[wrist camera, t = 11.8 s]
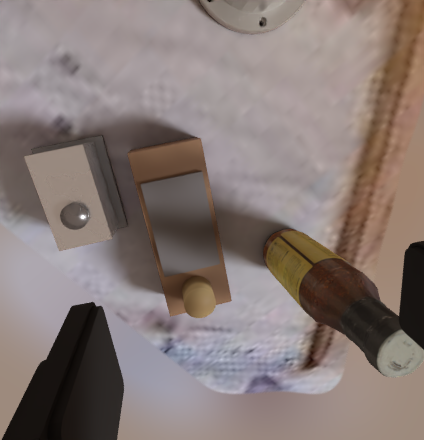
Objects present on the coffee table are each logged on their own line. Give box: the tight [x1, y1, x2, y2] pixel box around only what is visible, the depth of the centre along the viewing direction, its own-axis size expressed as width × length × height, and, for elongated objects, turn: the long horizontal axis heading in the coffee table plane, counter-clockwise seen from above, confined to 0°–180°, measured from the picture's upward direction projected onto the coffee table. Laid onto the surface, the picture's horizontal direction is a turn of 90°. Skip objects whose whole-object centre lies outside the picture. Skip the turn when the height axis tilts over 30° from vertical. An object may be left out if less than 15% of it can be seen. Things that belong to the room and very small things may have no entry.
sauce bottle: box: [263, 229, 424, 377], centre depth 30 cm, size 7×6×20 cm
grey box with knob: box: [24, 142, 119, 251], centre depth 31 cm, size 9×5×6 cm, turn 11°
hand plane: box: [127, 137, 232, 318], centre depth 33 cm, size 18×7×8 cm, turn 11°
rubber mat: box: [31, 135, 128, 229], centre depth 34 cm, size 10×7×1 cm
